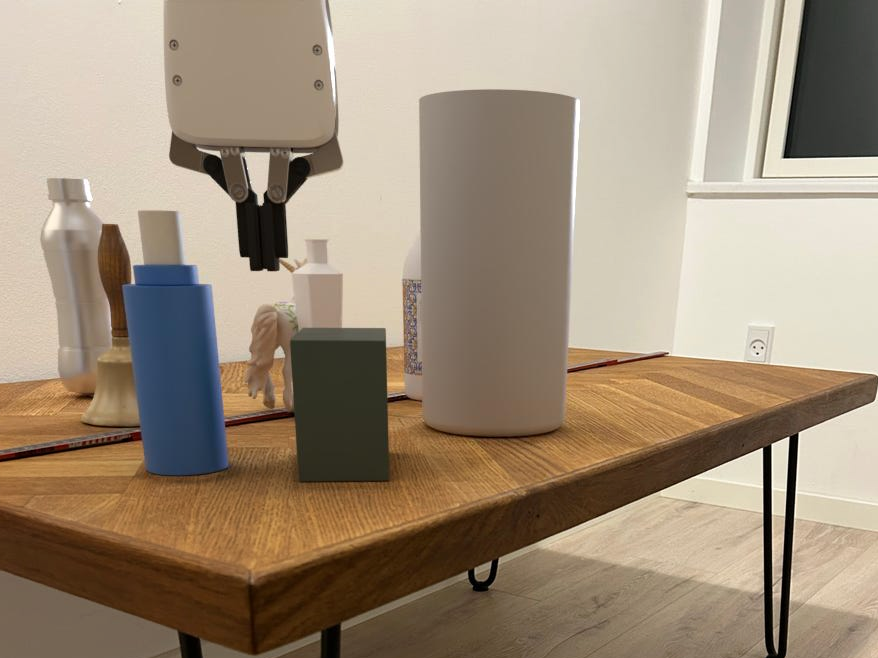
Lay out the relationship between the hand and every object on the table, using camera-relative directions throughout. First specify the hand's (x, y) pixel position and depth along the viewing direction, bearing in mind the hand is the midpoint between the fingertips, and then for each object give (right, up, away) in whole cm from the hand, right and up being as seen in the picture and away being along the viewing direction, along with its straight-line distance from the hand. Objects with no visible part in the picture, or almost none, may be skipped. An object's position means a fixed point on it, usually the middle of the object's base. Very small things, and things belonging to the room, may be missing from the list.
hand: (265, 270), depth 62 cm
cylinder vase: (+15, -6, +21) cm, 27 cm away
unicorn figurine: (-6, -1, +31) cm, 32 cm away
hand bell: (-17, -5, +22) cm, 28 cm away
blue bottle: (-3, -12, +4) cm, 13 cm away
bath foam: (+10, +1, +37) cm, 38 cm away
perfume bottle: (0, -4, +25) cm, 26 cm away
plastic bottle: (-25, +1, +35) cm, 43 cm away
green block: (+5, -12, +5) cm, 14 cm away
